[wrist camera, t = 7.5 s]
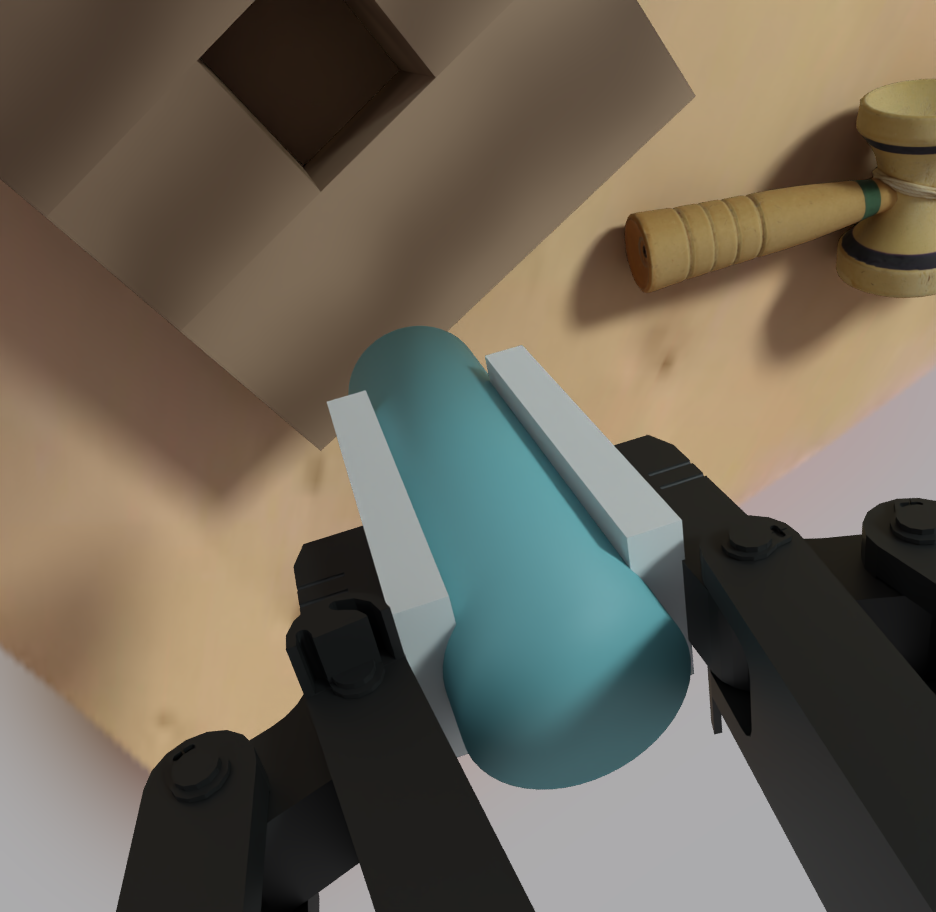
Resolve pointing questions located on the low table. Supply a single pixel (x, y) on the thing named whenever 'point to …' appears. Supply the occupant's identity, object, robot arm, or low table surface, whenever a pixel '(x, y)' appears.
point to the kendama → (819, 212)
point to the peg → (521, 578)
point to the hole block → (322, 168)
